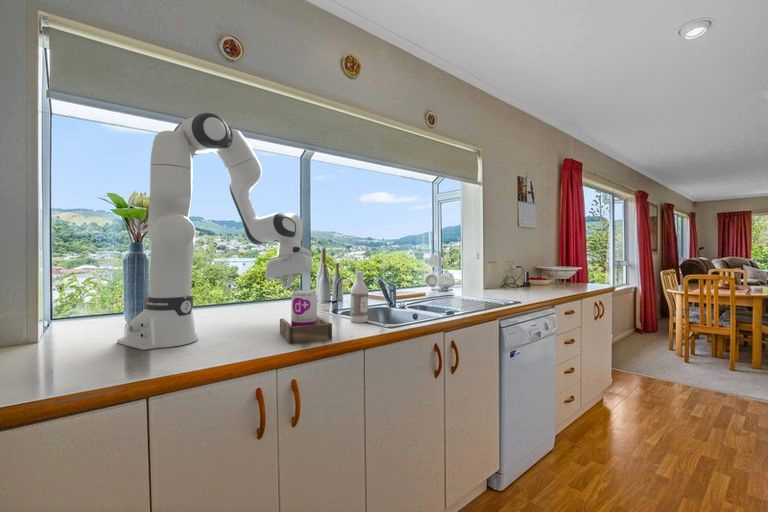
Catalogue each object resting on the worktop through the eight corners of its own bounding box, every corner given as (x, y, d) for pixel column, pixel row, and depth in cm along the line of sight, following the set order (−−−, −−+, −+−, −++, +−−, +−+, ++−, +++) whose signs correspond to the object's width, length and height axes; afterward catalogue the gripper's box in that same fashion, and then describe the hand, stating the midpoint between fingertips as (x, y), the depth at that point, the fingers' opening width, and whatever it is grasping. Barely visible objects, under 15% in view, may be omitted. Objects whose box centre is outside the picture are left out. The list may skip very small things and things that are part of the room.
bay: (279, 333, 125) (279, 318, 125) (317, 329, 131) (317, 315, 131) (290, 344, 112) (290, 327, 112) (331, 339, 118) (332, 324, 118)
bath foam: (357, 323, 142) (358, 272, 142) (346, 321, 147) (347, 271, 147) (371, 321, 147) (371, 271, 147) (359, 318, 152) (360, 270, 152)
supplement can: (310, 340, 117) (310, 293, 116) (286, 338, 118) (287, 292, 118) (320, 334, 125) (320, 290, 124) (297, 332, 126) (298, 289, 126)
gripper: (263, 255, 145) (259, 289, 140) (305, 246, 137) (302, 282, 132) (274, 260, 150) (270, 293, 146) (315, 252, 142) (313, 286, 137)
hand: (286, 287), depth 139 cm, fingers closed
